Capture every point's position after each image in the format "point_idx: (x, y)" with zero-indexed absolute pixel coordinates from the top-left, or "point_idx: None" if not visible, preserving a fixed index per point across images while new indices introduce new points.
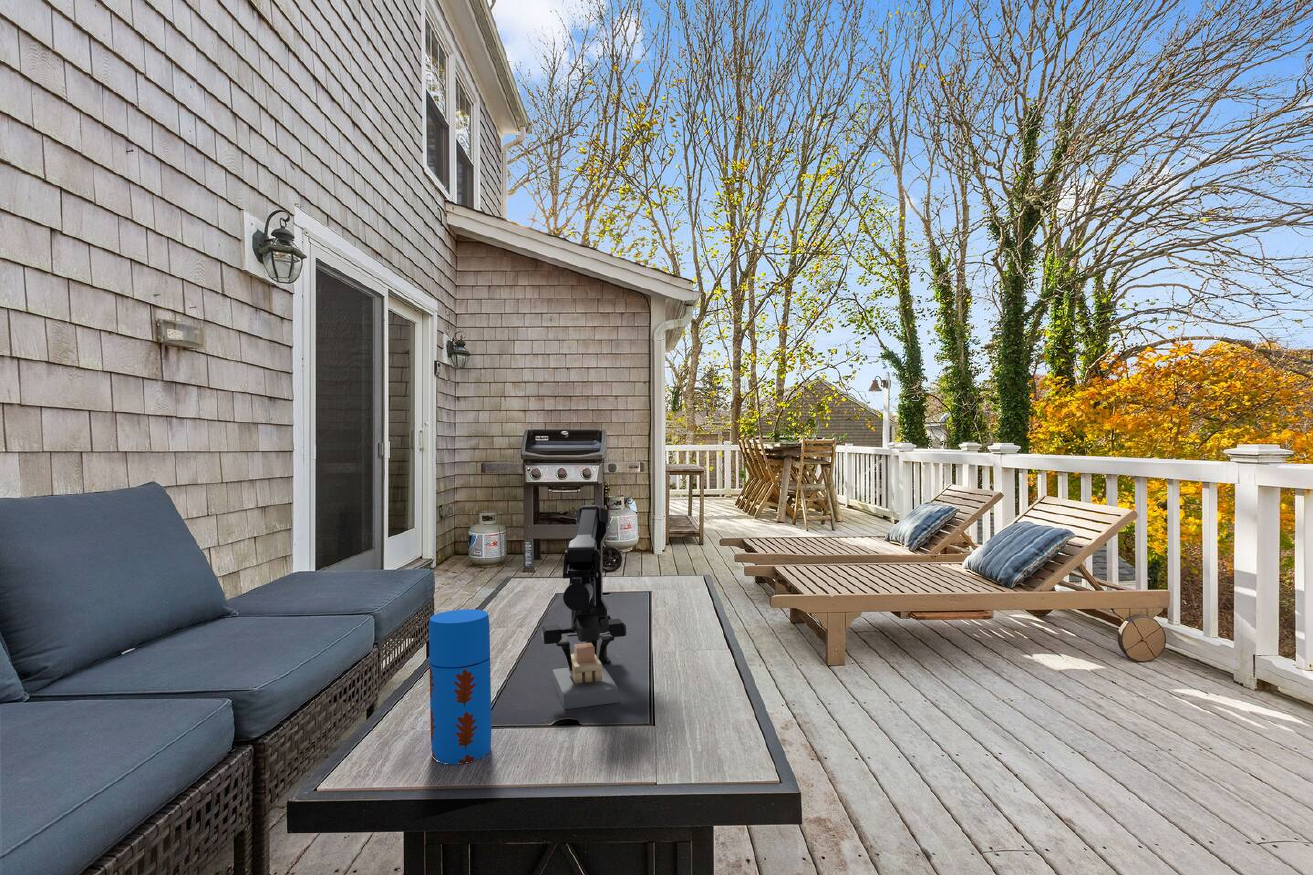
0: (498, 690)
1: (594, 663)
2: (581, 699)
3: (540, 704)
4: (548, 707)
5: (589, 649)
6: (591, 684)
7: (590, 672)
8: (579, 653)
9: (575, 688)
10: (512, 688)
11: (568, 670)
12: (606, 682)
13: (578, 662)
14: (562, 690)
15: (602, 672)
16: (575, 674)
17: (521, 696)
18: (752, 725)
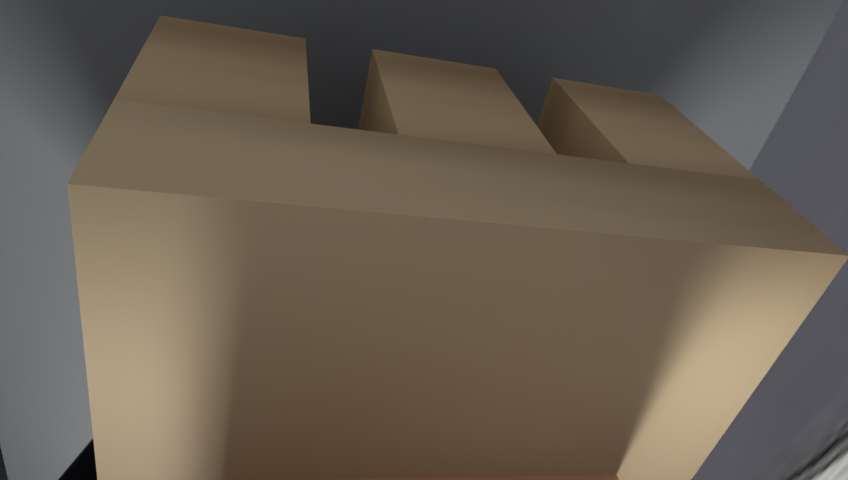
0: (828, 465)
1: (292, 326)
2: None
3: (831, 134)
4: (838, 19)
5: None
6: (339, 121)
7: (432, 127)
8: None
9: (613, 74)
10: (751, 470)
11: None
12: (72, 97)
13: (589, 475)
14: (782, 89)
15: (71, 447)
16: (734, 167)
17: (807, 344)
18: None
